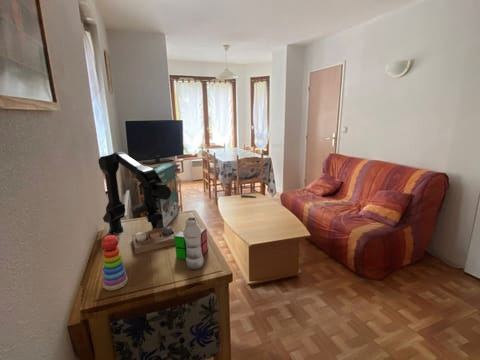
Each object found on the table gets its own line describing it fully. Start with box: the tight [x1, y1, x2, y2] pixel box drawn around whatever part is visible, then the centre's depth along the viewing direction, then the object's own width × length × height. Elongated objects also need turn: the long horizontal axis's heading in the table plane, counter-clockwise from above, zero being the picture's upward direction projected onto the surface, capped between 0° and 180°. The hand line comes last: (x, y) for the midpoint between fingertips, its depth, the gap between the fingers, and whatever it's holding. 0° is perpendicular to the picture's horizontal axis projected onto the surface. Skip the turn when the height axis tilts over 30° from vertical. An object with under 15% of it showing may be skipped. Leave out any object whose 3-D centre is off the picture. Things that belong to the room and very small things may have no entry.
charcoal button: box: [163, 225, 173, 236], centre depth 122 cm, size 4×4×3 cm
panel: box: [131, 225, 178, 255], centre depth 120 cm, size 14×19×3 cm
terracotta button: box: [150, 233, 160, 239], centre depth 119 cm, size 4×4×3 cm
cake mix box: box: [148, 163, 180, 229], centre depth 140 cm, size 22×6×30 cm, turn 172°
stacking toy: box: [101, 234, 129, 291], centre depth 88 cm, size 8×8×19 cm
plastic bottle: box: [183, 217, 204, 270], centre depth 97 cm, size 6×7×20 cm
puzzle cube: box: [174, 226, 209, 260], centre depth 108 cm, size 10×10×10 cm
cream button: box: [135, 231, 147, 242], centre depth 116 cm, size 4×4×3 cm
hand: (154, 228), depth 118 cm, fingers closed
